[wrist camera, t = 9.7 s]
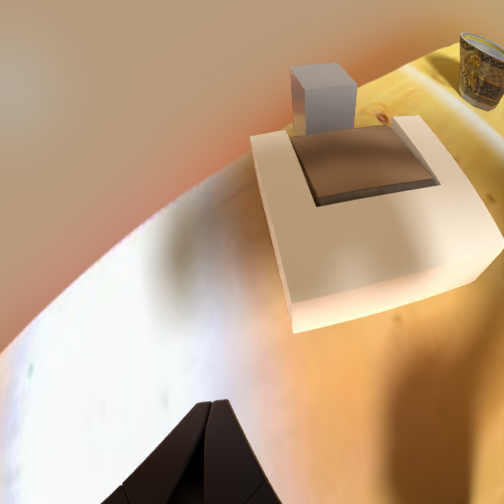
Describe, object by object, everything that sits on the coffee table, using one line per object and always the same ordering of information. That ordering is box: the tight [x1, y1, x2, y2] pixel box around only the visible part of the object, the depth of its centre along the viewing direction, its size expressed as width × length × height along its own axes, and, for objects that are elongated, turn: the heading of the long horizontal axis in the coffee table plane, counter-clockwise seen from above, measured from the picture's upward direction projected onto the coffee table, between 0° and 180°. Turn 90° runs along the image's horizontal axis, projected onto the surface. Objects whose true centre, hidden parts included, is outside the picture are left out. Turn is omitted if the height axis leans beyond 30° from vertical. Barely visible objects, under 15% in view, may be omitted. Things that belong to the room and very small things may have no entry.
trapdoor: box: [290, 125, 435, 207], centre depth 23 cm, size 9×9×1 cm
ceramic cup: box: [459, 33, 504, 111], centre depth 30 cm, size 13×10×10 cm
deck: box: [250, 115, 504, 334], centre depth 23 cm, size 14×16×6 cm
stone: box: [290, 63, 357, 136], centre depth 29 cm, size 5×5×8 cm
